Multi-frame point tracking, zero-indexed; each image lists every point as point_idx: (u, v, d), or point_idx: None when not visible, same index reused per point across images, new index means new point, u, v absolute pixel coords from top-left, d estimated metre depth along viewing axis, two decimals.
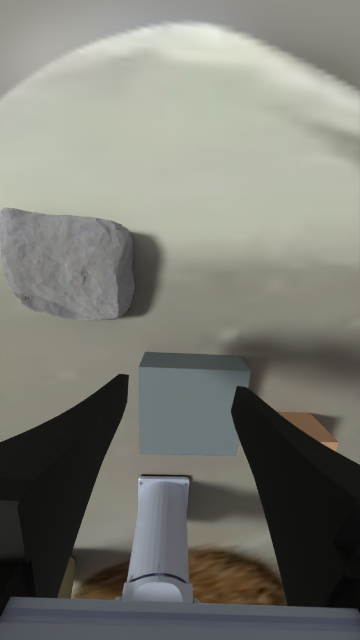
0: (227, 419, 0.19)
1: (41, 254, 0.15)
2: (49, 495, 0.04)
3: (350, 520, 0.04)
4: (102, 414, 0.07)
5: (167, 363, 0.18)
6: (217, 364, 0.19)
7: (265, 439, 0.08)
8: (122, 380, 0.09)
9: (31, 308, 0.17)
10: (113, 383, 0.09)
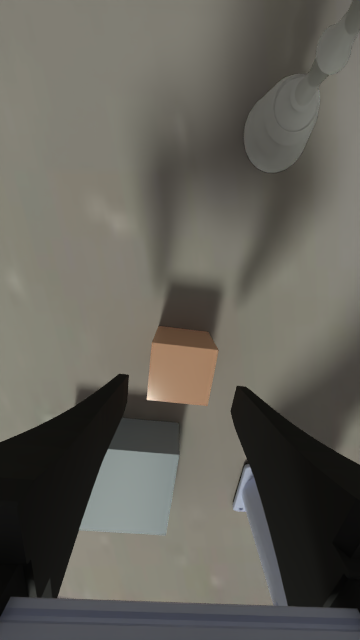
0: (120, 463, 0.16)
1: None
2: (49, 495, 0.04)
3: (350, 520, 0.04)
4: (102, 414, 0.07)
5: None
6: None
7: (265, 439, 0.08)
8: (122, 380, 0.09)
9: None
10: (113, 383, 0.09)
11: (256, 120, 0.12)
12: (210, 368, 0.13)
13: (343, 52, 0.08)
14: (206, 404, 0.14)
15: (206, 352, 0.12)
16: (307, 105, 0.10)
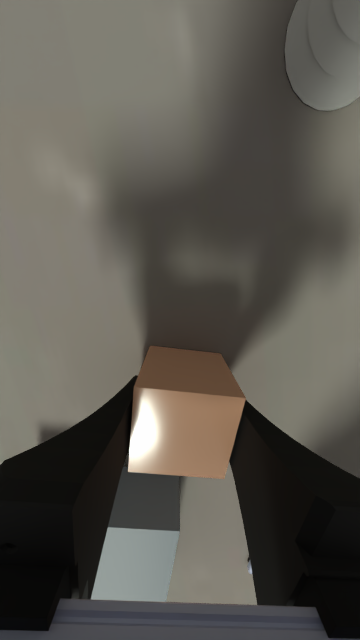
0: None
1: None
2: (91, 498, 0.04)
3: (310, 518, 0.04)
4: (126, 416, 0.07)
5: None
6: None
7: (243, 437, 0.08)
8: None
9: None
10: (132, 385, 0.09)
11: (313, 4, 0.07)
12: (231, 425, 0.08)
13: None
14: (222, 476, 0.09)
15: (226, 402, 0.07)
16: None
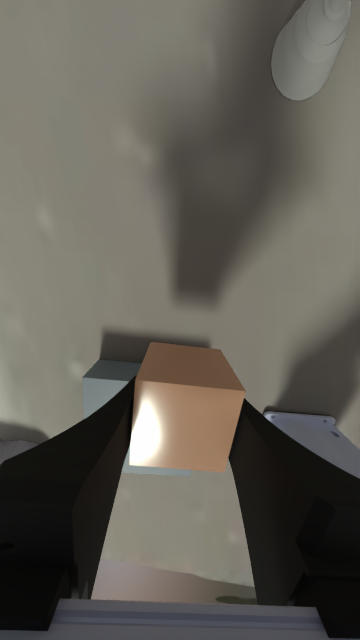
0: None
1: None
2: (91, 498, 0.04)
3: (310, 518, 0.04)
4: (126, 416, 0.07)
5: None
6: None
7: (243, 437, 0.08)
8: None
9: None
10: (132, 385, 0.09)
11: (286, 39, 0.12)
12: (231, 419, 0.08)
13: None
14: (222, 470, 0.09)
15: (226, 395, 0.08)
16: (339, 12, 0.10)
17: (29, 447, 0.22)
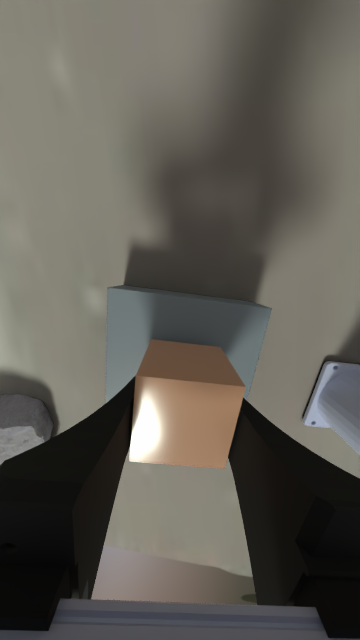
0: (194, 322, 0.12)
1: None
2: (91, 498, 0.04)
3: (310, 518, 0.04)
4: (126, 416, 0.07)
5: None
6: None
7: (243, 437, 0.08)
8: None
9: None
10: (132, 385, 0.09)
11: None
12: (231, 414, 0.08)
13: None
14: (223, 466, 0.09)
15: (226, 391, 0.08)
16: None
17: (27, 402, 0.17)
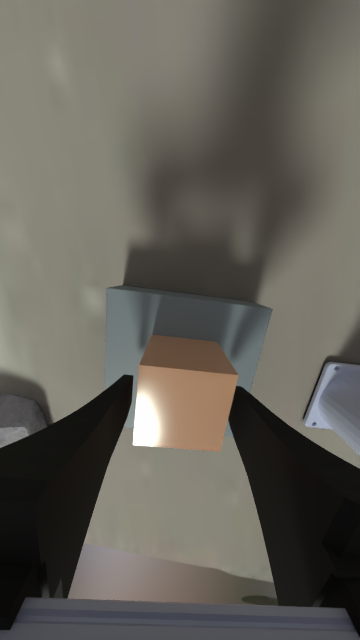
0: (194, 322, 0.12)
1: None
2: (61, 496, 0.04)
3: (338, 520, 0.04)
4: (109, 415, 0.07)
5: None
6: None
7: (259, 438, 0.08)
8: (127, 381, 0.09)
9: None
10: (119, 384, 0.09)
11: None
12: (225, 401, 0.09)
13: None
14: (218, 449, 0.10)
15: (221, 379, 0.08)
16: None
17: (20, 402, 0.17)
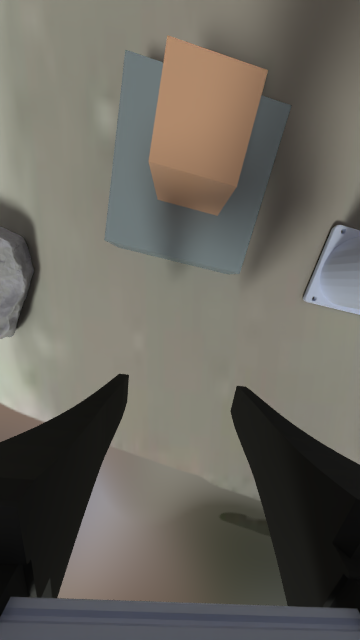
0: None
1: None
2: (49, 495, 0.04)
3: (350, 520, 0.04)
4: (102, 414, 0.07)
5: None
6: None
7: (265, 439, 0.08)
8: (122, 380, 0.09)
9: (5, 329, 0.17)
10: (113, 383, 0.09)
11: None
12: (250, 108, 0.08)
13: None
14: (235, 184, 0.09)
15: (249, 73, 0.08)
16: None
17: (7, 230, 0.16)
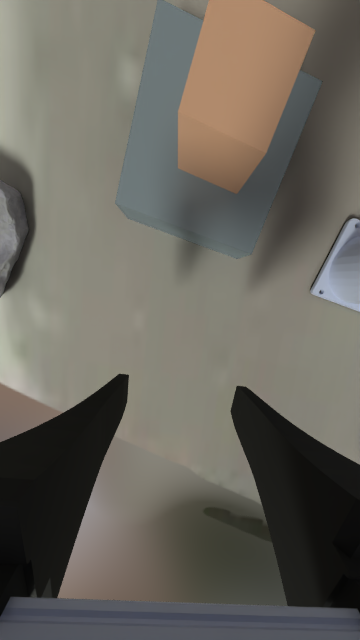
0: None
1: None
2: (49, 495, 0.04)
3: (350, 520, 0.04)
4: (102, 414, 0.07)
5: None
6: None
7: (265, 439, 0.08)
8: (122, 380, 0.09)
9: None
10: (113, 383, 0.09)
11: None
12: (292, 69, 0.08)
13: None
14: (265, 150, 0.09)
15: (296, 31, 0.08)
16: None
17: (2, 182, 0.15)
